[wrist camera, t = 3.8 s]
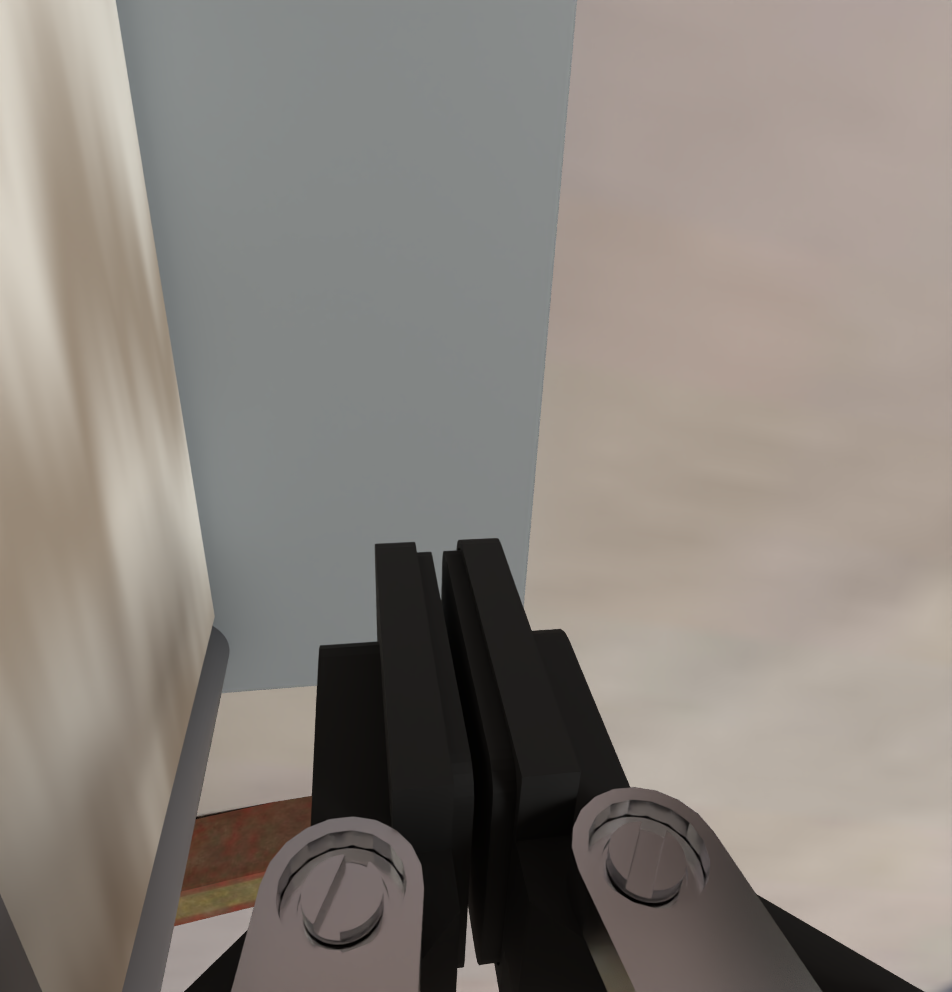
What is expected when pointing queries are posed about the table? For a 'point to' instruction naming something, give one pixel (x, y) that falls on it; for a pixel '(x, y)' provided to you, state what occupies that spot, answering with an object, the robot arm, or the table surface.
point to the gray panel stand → (342, 312)
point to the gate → (85, 510)
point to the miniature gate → (236, 856)
